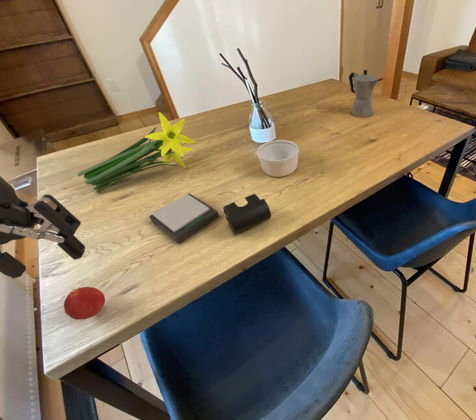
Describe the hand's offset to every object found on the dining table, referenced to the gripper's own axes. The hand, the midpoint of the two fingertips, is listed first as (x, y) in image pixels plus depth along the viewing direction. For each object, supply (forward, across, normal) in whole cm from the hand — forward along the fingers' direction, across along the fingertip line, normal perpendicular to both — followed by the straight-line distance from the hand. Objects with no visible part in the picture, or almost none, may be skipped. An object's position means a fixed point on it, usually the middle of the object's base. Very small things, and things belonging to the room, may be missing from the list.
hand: (51, 264), depth 42 cm
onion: (+17, -5, +4) cm, 18 cm away
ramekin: (+19, +39, +43) cm, 61 cm away
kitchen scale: (+16, +10, +26) cm, 33 cm away
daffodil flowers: (+12, -2, +51) cm, 52 cm away
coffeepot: (+21, +82, +76) cm, 114 cm away
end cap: (+19, +27, +19) cm, 38 cm away
